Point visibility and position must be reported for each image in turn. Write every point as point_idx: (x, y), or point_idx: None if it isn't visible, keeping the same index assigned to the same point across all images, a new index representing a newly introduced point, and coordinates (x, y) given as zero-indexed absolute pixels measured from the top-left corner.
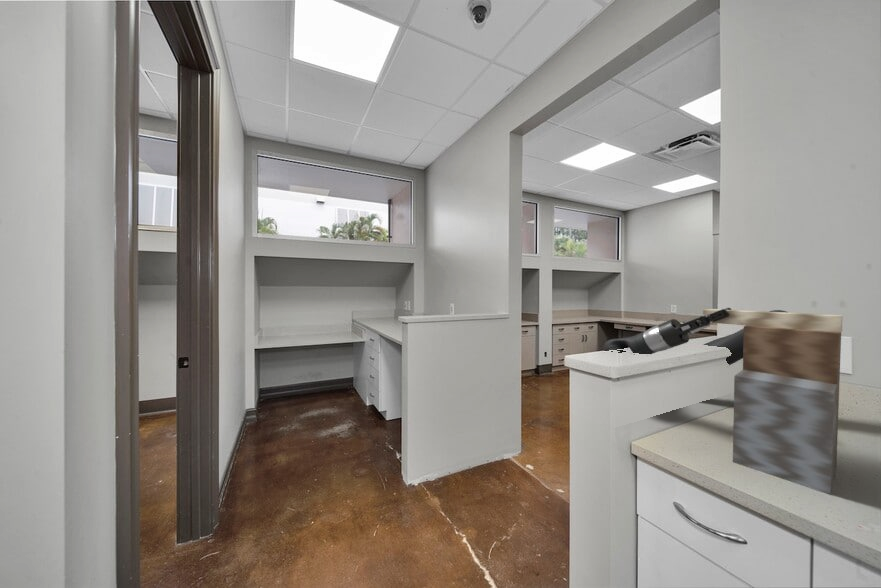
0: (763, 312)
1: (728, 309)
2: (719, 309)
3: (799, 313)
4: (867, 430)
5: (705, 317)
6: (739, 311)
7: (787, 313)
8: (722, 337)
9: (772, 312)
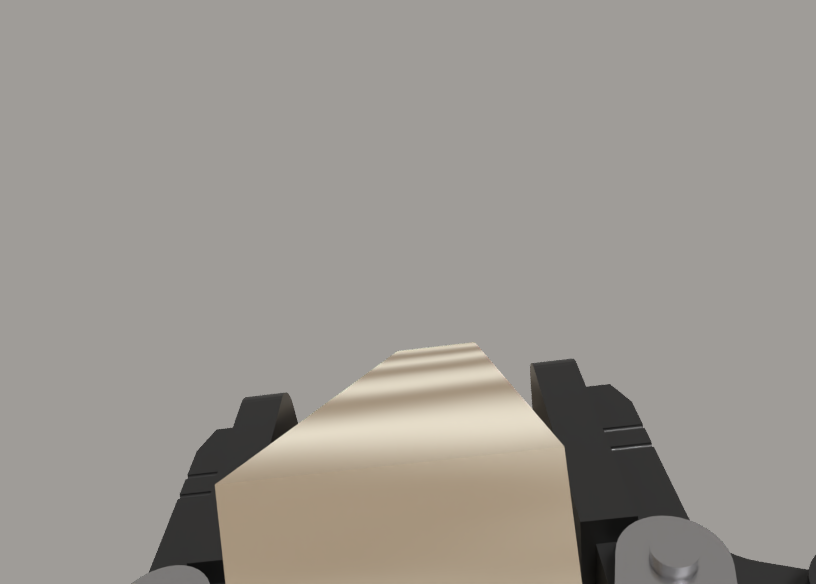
0: (477, 362)
1: (285, 417)
2: (340, 426)
3: (412, 357)
4: None
5: (793, 569)
6: (503, 376)
7: (456, 355)
8: None
9: (434, 363)
